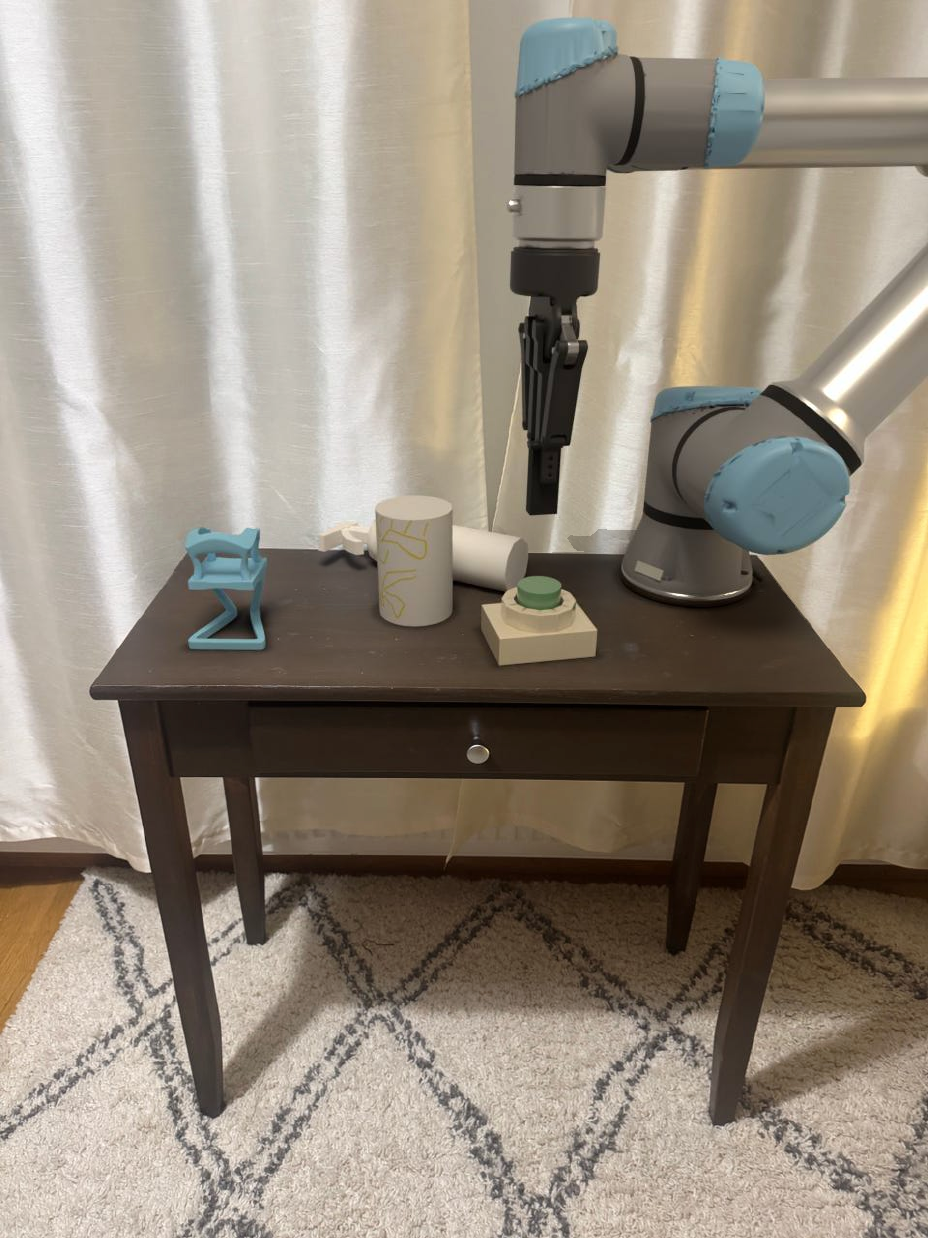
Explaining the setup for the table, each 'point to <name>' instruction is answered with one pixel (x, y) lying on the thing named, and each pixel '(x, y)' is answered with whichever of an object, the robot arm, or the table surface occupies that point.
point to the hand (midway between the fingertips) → (541, 512)
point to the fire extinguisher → (473, 553)
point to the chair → (227, 582)
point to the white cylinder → (415, 559)
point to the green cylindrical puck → (539, 593)
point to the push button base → (537, 631)
